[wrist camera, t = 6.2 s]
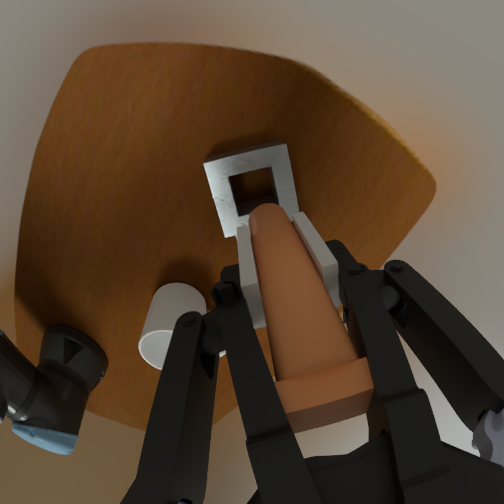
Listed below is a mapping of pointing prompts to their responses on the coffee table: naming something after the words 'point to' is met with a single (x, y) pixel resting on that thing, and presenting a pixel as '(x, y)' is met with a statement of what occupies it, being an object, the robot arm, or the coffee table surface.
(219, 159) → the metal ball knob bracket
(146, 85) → the coffee table surface
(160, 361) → the cup
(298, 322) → the wedge pin
